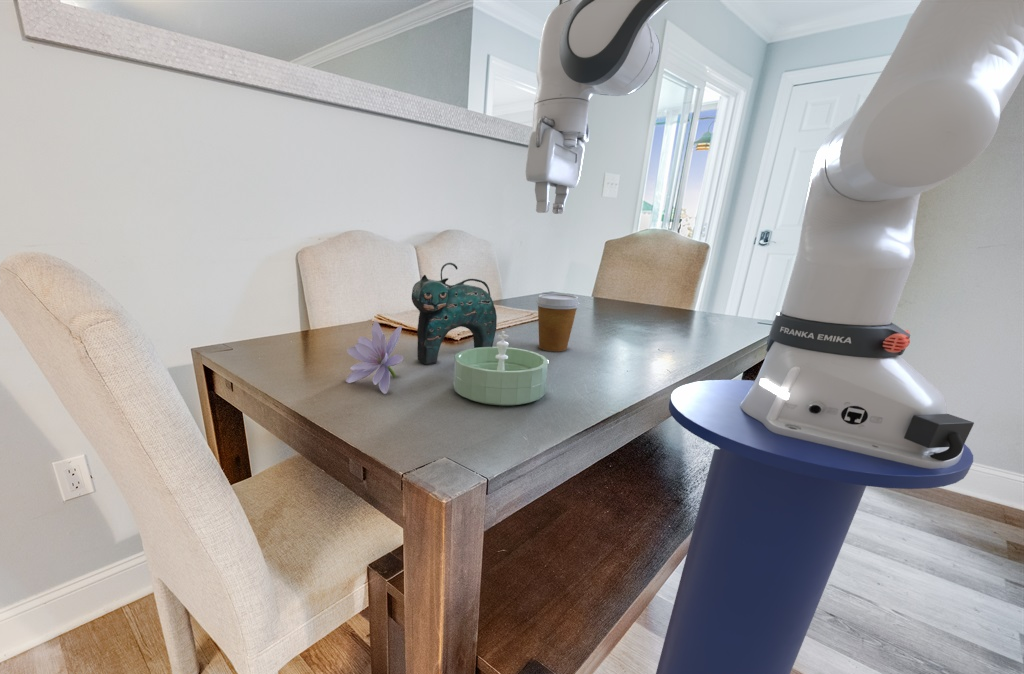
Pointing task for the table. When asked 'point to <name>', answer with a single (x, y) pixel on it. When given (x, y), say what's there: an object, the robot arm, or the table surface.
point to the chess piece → (502, 351)
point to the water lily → (375, 357)
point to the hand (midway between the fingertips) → (550, 213)
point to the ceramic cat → (451, 314)
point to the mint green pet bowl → (500, 376)
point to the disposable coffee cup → (555, 320)
